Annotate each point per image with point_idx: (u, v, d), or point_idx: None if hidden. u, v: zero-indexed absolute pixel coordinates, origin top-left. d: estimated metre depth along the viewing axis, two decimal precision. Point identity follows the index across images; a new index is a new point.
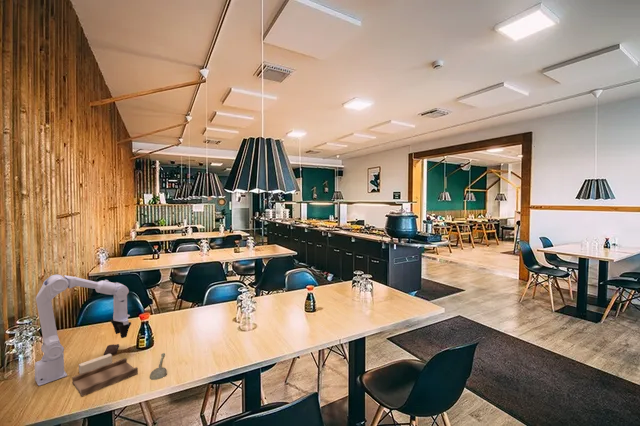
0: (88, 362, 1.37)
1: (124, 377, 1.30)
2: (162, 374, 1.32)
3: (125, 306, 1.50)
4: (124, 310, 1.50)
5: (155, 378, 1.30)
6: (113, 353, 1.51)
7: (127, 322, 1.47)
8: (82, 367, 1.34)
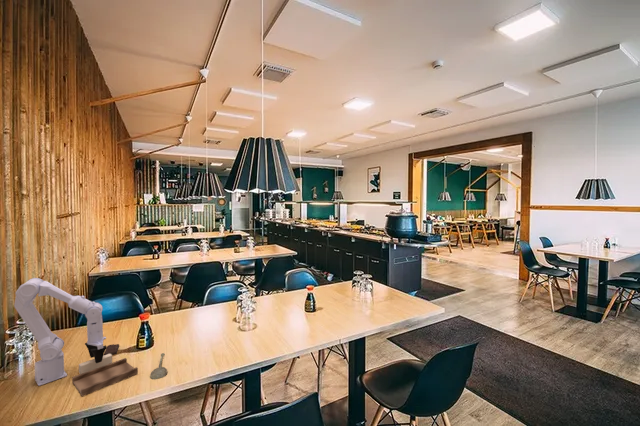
0: (88, 362, 1.37)
1: (124, 377, 1.30)
2: (162, 373, 1.33)
3: (98, 329, 1.37)
4: (99, 332, 1.38)
5: (155, 378, 1.31)
6: (113, 353, 1.51)
7: (102, 346, 1.35)
8: (82, 367, 1.34)
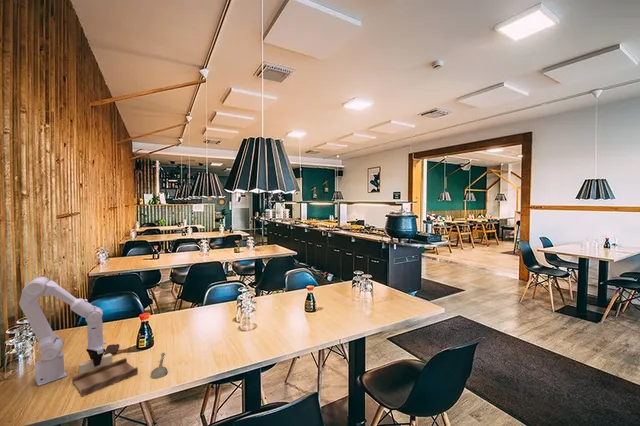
0: (88, 362, 1.37)
1: (124, 377, 1.30)
2: (162, 373, 1.33)
3: (98, 334, 1.37)
4: (99, 337, 1.38)
5: (155, 377, 1.31)
6: (113, 353, 1.51)
7: (102, 351, 1.35)
8: (82, 367, 1.34)
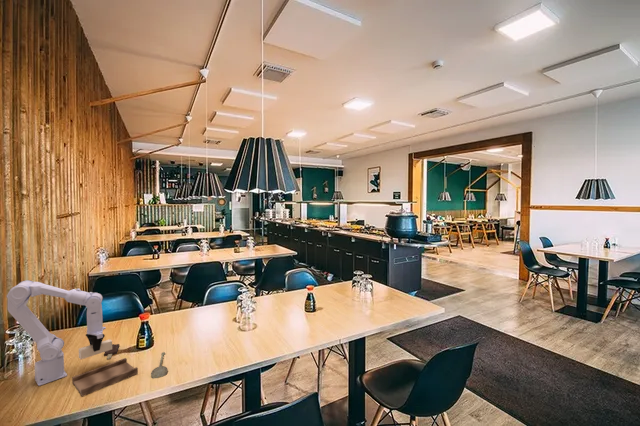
0: (88, 347, 1.37)
1: (124, 377, 1.30)
2: (163, 372, 1.33)
3: (97, 319, 1.37)
4: (98, 322, 1.38)
5: (156, 376, 1.32)
6: (113, 353, 1.51)
7: (101, 336, 1.35)
8: (82, 351, 1.34)
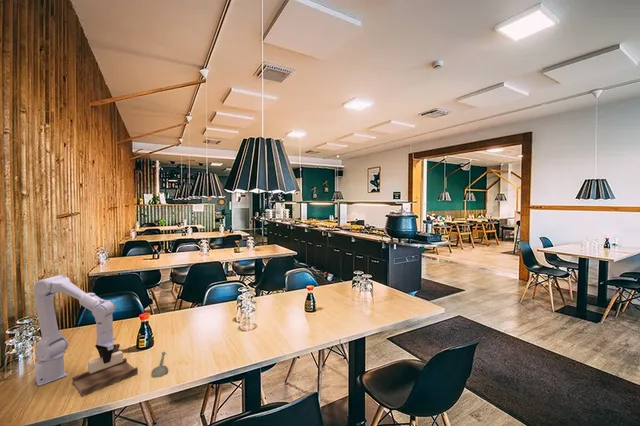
0: (98, 360, 1.28)
1: (124, 377, 1.30)
2: (163, 372, 1.34)
3: (103, 330, 1.28)
4: (109, 332, 1.29)
5: (156, 376, 1.32)
6: None
7: (112, 347, 1.26)
8: (91, 365, 1.26)
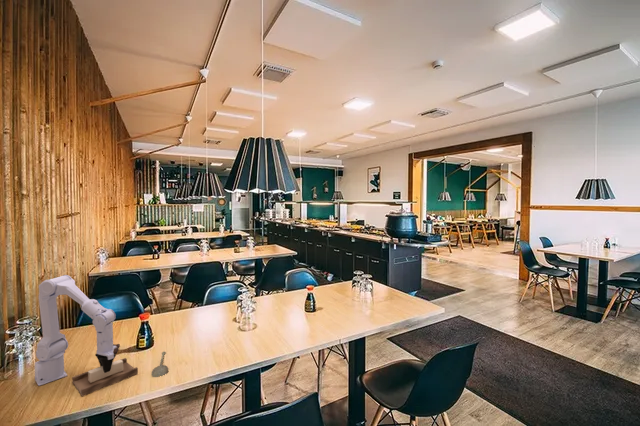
0: (98, 369, 1.28)
1: (124, 377, 1.30)
2: (163, 371, 1.34)
3: (104, 339, 1.28)
4: (109, 341, 1.29)
5: (156, 375, 1.32)
6: (114, 353, 1.51)
7: (112, 356, 1.26)
8: (92, 374, 1.26)
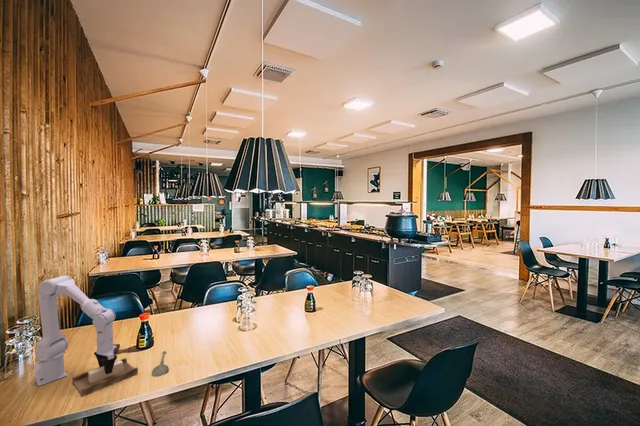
0: (98, 370, 1.28)
1: (124, 377, 1.30)
2: (164, 371, 1.35)
3: (104, 339, 1.28)
4: (109, 341, 1.29)
5: (156, 375, 1.33)
6: (114, 353, 1.51)
7: (112, 356, 1.26)
8: (92, 375, 1.26)
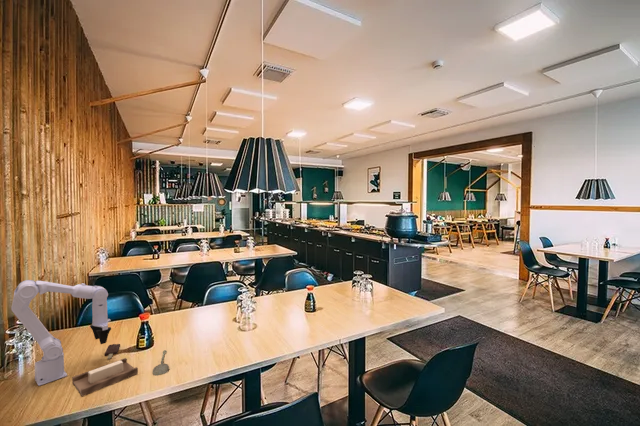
0: (98, 370, 1.28)
1: (124, 377, 1.30)
2: (164, 370, 1.35)
3: (104, 310, 1.42)
4: (104, 314, 1.42)
5: (157, 374, 1.34)
6: (114, 353, 1.51)
7: (106, 327, 1.39)
8: (92, 375, 1.26)
